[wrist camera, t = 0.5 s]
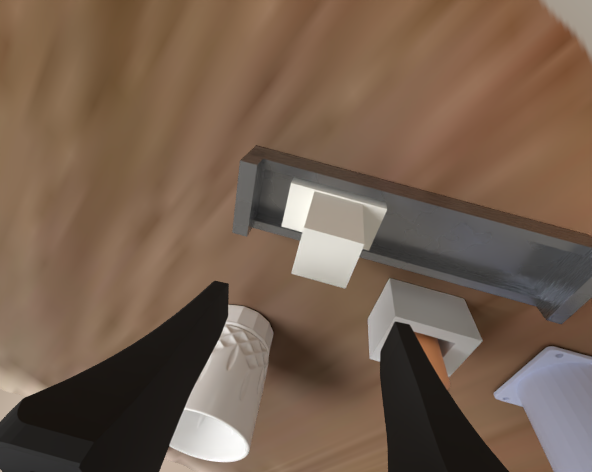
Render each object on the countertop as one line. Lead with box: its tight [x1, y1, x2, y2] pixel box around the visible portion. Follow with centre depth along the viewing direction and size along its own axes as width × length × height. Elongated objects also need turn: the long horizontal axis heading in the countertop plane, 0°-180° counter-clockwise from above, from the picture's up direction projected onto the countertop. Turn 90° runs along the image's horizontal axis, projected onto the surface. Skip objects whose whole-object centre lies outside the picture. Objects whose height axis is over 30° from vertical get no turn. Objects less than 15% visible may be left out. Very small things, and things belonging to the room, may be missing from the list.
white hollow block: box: [368, 278, 483, 377], centre depth 23 cm, size 6×5×4 cm
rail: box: [232, 145, 592, 324], centre depth 19 cm, size 22×5×3 cm, turn 78°
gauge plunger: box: [414, 332, 450, 391], centre depth 21 cm, size 2×2×4 cm
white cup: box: [169, 305, 274, 462], centre depth 25 cm, size 8×8×10 cm
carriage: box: [281, 177, 387, 289], centre depth 17 cm, size 6×3×6 cm, turn 78°
